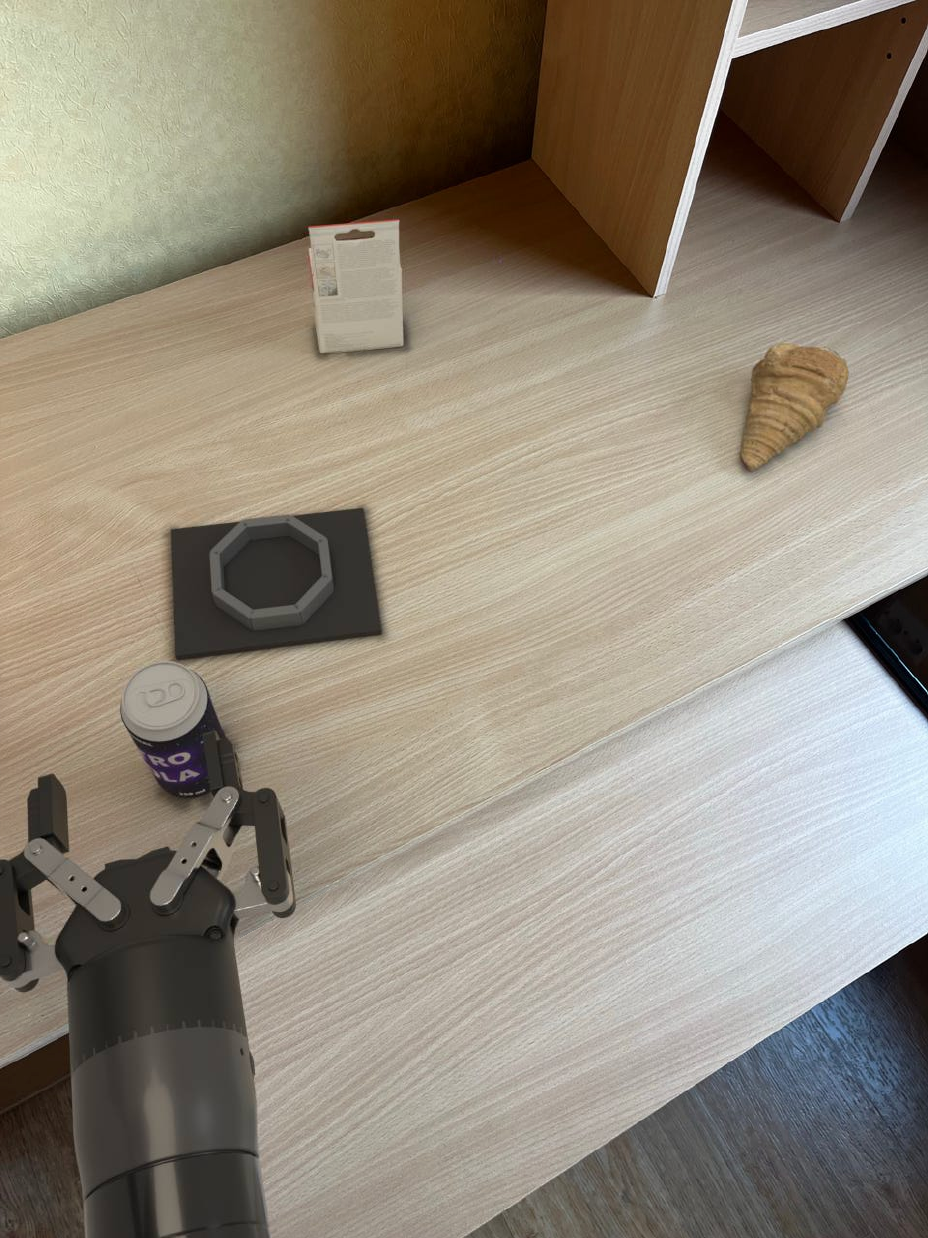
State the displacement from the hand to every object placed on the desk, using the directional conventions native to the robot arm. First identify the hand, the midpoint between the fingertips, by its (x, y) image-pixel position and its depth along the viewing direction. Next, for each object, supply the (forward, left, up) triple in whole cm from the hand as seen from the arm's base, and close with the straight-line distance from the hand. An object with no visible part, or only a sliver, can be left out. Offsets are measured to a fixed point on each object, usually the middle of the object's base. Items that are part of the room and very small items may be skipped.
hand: (132, 760), depth 56 cm
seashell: (+54, +34, -21) cm, 67 cm away
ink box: (+17, +49, -21) cm, 56 cm away
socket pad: (+7, +23, -21) cm, 32 cm away
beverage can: (0, +8, -21) cm, 23 cm away
